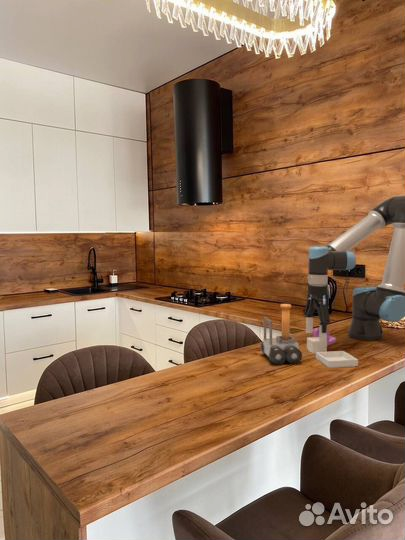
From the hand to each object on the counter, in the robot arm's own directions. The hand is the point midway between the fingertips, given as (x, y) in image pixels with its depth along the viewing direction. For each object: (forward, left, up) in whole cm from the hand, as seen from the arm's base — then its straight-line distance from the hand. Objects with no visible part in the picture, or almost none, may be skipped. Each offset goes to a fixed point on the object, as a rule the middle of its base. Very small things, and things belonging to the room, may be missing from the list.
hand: (315, 336), depth 169 cm
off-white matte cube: (0, 0, -6) cm, 6 cm away
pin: (+16, +8, +1) cm, 17 cm away
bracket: (-10, -12, -6) cm, 16 cm away
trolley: (+18, +8, -6) cm, 20 cm away
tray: (-1, +15, -6) cm, 17 cm away
